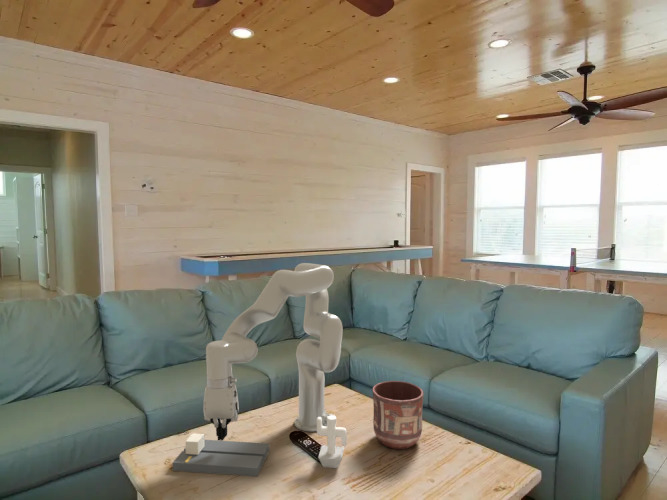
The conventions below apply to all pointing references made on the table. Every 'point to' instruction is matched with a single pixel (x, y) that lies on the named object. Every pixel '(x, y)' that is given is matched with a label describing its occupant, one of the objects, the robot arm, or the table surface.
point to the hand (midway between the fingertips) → (222, 437)
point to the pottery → (397, 413)
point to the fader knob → (194, 444)
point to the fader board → (224, 458)
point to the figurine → (331, 442)
